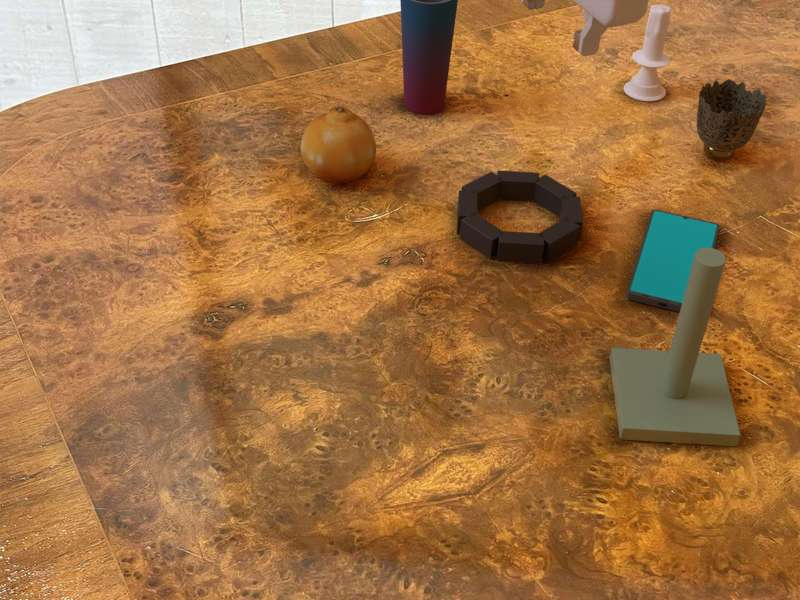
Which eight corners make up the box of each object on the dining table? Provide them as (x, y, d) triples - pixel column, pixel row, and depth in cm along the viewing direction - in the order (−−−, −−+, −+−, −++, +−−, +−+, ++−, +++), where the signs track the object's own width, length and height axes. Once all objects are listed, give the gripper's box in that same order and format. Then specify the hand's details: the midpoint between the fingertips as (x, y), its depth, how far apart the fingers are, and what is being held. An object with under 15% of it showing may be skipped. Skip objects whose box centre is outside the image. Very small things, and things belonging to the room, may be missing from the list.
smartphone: (626, 292, 105) (652, 208, 116) (625, 298, 105) (650, 214, 116) (701, 310, 103) (721, 224, 114) (699, 317, 104) (719, 230, 114)
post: (717, 365, 99) (761, 222, 88) (736, 447, 91) (788, 301, 80) (609, 358, 99) (640, 215, 88) (619, 439, 92) (655, 294, 81)
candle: (669, 102, 135) (688, 14, 127) (627, 101, 135) (643, 13, 127) (661, 81, 139) (679, -6, 131) (620, 80, 139) (636, -7, 131)
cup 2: (672, 152, 126) (686, 92, 121) (710, 131, 130) (725, 72, 125) (725, 179, 122) (742, 119, 117) (762, 157, 126) (780, 97, 120)
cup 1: (459, 97, 134) (467, -16, 124) (438, 123, 129) (445, 8, 120) (410, 85, 136) (414, -27, 126) (387, 110, 131) (390, -5, 122)
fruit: (354, 122, 125) (328, 84, 118) (399, 158, 121) (375, 119, 114) (305, 172, 124) (276, 136, 117) (349, 209, 120) (322, 174, 113)
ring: (574, 193, 119) (577, 174, 118) (582, 266, 109) (586, 247, 108) (458, 186, 119) (459, 168, 118) (456, 259, 110) (457, 239, 108)
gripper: (686, -87, 81) (652, 75, 90) (551, -170, 95) (533, -22, 104) (615, -76, 79) (588, 89, 88) (488, -163, 93) (475, -13, 102)
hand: (557, 28), depth 96 cm, fingers open, 8 cm apart
